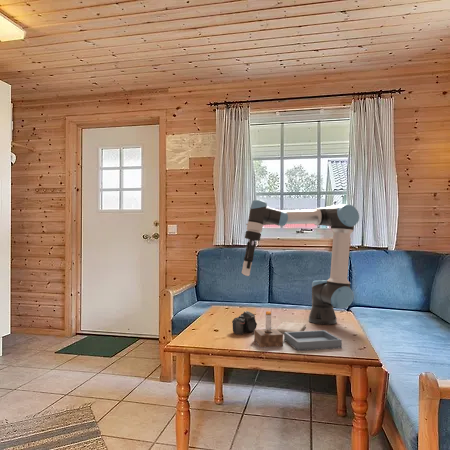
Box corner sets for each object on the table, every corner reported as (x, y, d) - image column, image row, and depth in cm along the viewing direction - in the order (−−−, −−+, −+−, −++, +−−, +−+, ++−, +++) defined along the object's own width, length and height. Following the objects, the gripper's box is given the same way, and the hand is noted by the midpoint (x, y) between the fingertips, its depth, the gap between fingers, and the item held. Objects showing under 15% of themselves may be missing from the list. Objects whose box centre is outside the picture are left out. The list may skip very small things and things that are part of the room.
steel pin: (270, 342, 166) (270, 311, 166) (271, 344, 163) (271, 312, 164) (264, 342, 165) (265, 311, 166) (266, 344, 163) (266, 312, 163)
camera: (248, 336, 175) (248, 315, 175) (230, 333, 180) (230, 313, 180) (260, 330, 186) (261, 310, 186) (243, 327, 191) (243, 308, 192)
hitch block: (275, 339, 170) (275, 328, 170) (282, 346, 161) (283, 334, 161) (254, 340, 168) (254, 329, 168) (260, 347, 159) (260, 335, 159)
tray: (324, 337, 174) (324, 330, 174) (341, 348, 159) (341, 339, 159) (284, 339, 170) (284, 332, 170) (297, 350, 154) (298, 342, 155)
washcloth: (306, 328, 194) (306, 322, 194) (299, 336, 177) (299, 330, 177) (284, 325, 198) (284, 319, 198) (275, 334, 182) (275, 327, 182)
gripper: (244, 231, 192) (236, 272, 191) (248, 228, 168) (239, 274, 166) (258, 234, 192) (250, 274, 191) (264, 231, 168) (255, 277, 166)
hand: (245, 274), depth 178 cm, fingers open, 13 cm apart
